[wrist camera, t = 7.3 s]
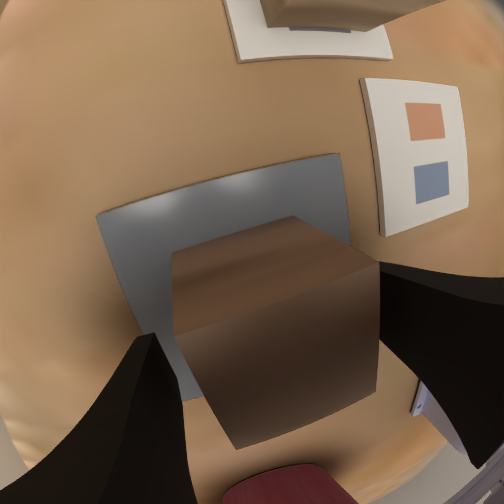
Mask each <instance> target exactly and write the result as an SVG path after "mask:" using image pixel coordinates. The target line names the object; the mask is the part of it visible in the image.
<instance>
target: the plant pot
mask: <svg viewBox="0 0 504 504" xmlns="http://www.w3.org/2000/svg"><path fill="white" fill-rule="evenodd" d="M223 504H359V503H358V502H357V501H356V500H354V499H353V498H352V497H351V496H350V495H349V494H348V493H347V492H346V491H345V490H344V489H343V488H342V487H341V486H340V485H339V484H338V483H337V482H336V481H335V480H334V479H333V478H332V477H331V476H330V475H329V474H328V473H327V472H326V471H325V470H324V469H323V468H322V467H320V466H318V465H314V464H302V465H293V466H288V467H283V468H279V469H275V470H271V471H268V472H265V473H262V474H259V475H256V476H253V477H251V478H249V479H246V480H244V481H242V482H240V483H238V484H236V485H235V486H233V487H232V488H230V489H229V490H228V491H227V492H226V493H225V494H224V496H223Z"/></svg>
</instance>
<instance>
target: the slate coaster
mask: <svg viewBox="0 0 504 504" xmlns="http://www.w3.org/2000/svg"><path fill="white" fill-rule="evenodd" d="M292 215H294V216H296V217H297V218H299V219H301V220H303V221H305V222H307V223H309V224H311V225H313V226H315V227H316V228H318V229H320V230H322V231H324V232H326V233H328V234H329V235H331V236H333V237H335V238H337V239H339V240H340V241H342V242H344V243H346V244H348V245H349V246H351V242H350V230H349V220H348V211H347V202H346V194H345V186H344V178H343V171H342V164H341V158H340V153H331V154H325V155H320V156H314V157H309V158H304V159H298V160H293V161H288V162H283V163H279V164H274V165H269V166H265V167H260V168H256V169H251V170H247V171H243V172H239V173H234V174H230V175H226V176H222V177H218V178H214V179H211V180H207V181H203V182H199V183H196V184H192V185H188V186H185V187H181V188H178V189H174V190H171V191H167V192H164V193H161V194H157V195H154V196H151V197H148V198H144V199H141V200H138V201H135V202H132V203H129V204H126V205H123V206H120V207H117V208H114V209H111V210H108V211H105V212H102V213H99V214H98V215H97V216H96V219H97V222H98V225H99V228H100V231H101V234H102V237H103V240H104V243H105V245H106V248H107V251H108V254H109V256H110V259H111V262H112V264H113V267H114V270H115V272H116V275H117V277H118V280H119V282H120V285H121V287H122V289H123V292H124V294H125V296H126V299H127V301H128V303H129V306H130V308H131V310H132V312H133V315H134V317H135V319H136V321H137V323H138V325H139V328H140V330H141V332H142V334H143V335H146V334H149V333H153V332H155V334H156V336H157V338H158V340H159V342H160V345H161V347H162V349H163V351H164V353H165V355H166V357H167V359H168V361H169V363H170V365H171V367H172V369H173V371H174V373H175V375H176V376H177V379H178V384H179V389H180V394H181V399H182V401H186V400H190V399H194V398H198V397H202V396H204V395H203V393H202V391H201V389H200V387H199V386H198V384H197V382H196V380H195V378H194V376H193V374H192V372H191V370H190V368H189V366H188V364H187V362H186V360H185V358H184V356H183V354H182V352H181V350H180V348H179V346H178V344H177V342H176V340H175V338H174V331H173V307H172V252H176V251H179V250H182V249H185V248H188V247H191V246H194V245H197V244H201V243H204V242H207V241H210V240H213V239H216V238H220V237H223V236H226V235H229V234H232V233H236V232H239V231H242V230H245V229H249V228H252V227H255V226H259V225H262V224H265V223H268V222H272V221H275V220H278V219H282V218H285V217H288V216H292Z"/></svg>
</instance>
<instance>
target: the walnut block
mask: <svg viewBox="0 0 504 504" xmlns="http://www.w3.org/2000/svg"><path fill="white" fill-rule="evenodd" d="M172 307H173V331H174V338H175V340H176V342H177V344H178V346H179V348H180V350H181V352H182V354H183V356H184V358H185V360H186V362H187V364H188V366H189V368H190V370H191V372H192V374H193V376H194V378H195V380H196V382H197V384H198V386H199V387H200V389H201V391H202V393H203V395H204V397H205V398H206V400H207V402H208V404H209V406H210V407H211V409H212V411H213V413H214V414H215V416H216V418H217V419H218V421H219V423H220V425H221V426H222V428H223V430H224V431H225V433H226V434H227V436H228V438H229V439H230V441H231V443H232V444H233V446H234V447H235V449H236V450H238V449H241V448H244V447H248V446H251V445H254V444H257V443H260V442H263V441H266V440H269V439H272V438H275V437H277V436H280V435H283V434H285V433H288V432H291V431H293V430H296V429H298V428H301V427H303V426H306V425H308V424H310V423H313V422H315V421H317V420H320V419H322V418H324V417H326V416H329V415H331V414H333V413H335V412H337V411H339V410H341V409H343V408H345V407H347V406H349V405H351V404H353V403H355V402H357V401H359V400H361V399H363V398H365V397H367V396H369V395H370V394H372V393H374V392H375V391H376V380H377V368H378V353H379V331H380V271H379V262H378V261H376V260H374V259H372V258H371V257H369V256H367V255H365V254H364V253H362V252H360V251H358V250H357V249H355V248H353V247H351V246H349V245H348V244H346V243H344V242H342V241H340V240H339V239H337V238H335V237H333V236H331V235H329V234H328V233H326V232H324V231H322V230H320V229H318V228H316V227H315V226H313V225H311V224H309V223H307V222H305V221H303V220H301V219H299V218H297V217H296V216H294V215H292V216H288V217H285V218H282V219H278V220H275V221H272V222H268V223H265V224H262V225H259V226H255V227H252V228H249V229H245V230H242V231H239V232H236V233H232V234H229V235H226V236H223V237H220V238H216V239H213V240H210V241H207V242H204V243H201V244H197V245H194V246H191V247H188V248H185V249H182V250H179V251H176V252H172Z"/></svg>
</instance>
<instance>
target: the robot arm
mask: <svg viewBox="0 0 504 504" xmlns="http://www.w3.org/2000/svg"><path fill="white" fill-rule="evenodd" d="M379 271H380V331H379V339H380V340H381V341H382V342H383V343H384V344H385V345H386V346H387V347H388V348H389V349H390V350H391V351H392V352H393V353H394V354H395V355H396V356H397V357H398V358H399V359H400V360H401V361H403V362H404V363H405V364H406V365H407V366H408V367H409V368H410V369H411V370H412V371H413V372H414V373H415V374H416V375H417V377H418V378H419V379H420V380H421V381H420V385H419V388H418V392H417V395H416V399H415V402H414V405H413V408H412V411H411V415H412V416H416V415H418V414H419V413H421V412H422V413H423V415H424V416H425V417H426V418H427V419H428V420H429V421H430V422H431V423H432V424H433V425H434V426H435V428H436V429H437V430H438V431H439V432H440V433H441V434H442V435H443V436H444V437H445V438H446V439H447V441H448V442H449V443H450V444H451V445H452V446H453V447H454V448H455V449H456V450H457V451H459V452H460V453H462V454H465V455H468V456H469V459H470V461H471V463H472V464H473V465H474V466H475V467H476V468H477V469H479V468H480V467H481V466H482V465H483V464H484V463H486V462H487V463H486V467H485V468H484V469H483V470H482V471H481V472H480V473H479V474H478V475H477V476H476V477H475V478H474V479H472V480H471V481H470V482H469V483H468V484H467V485H466V486H465V487H463V488H462V489H461V490H460V491H459V492H457V493H456V494H455V495H454V496H453V497H451V498H450V499H449V500H448V501H446V502H445V503H444V504H476V503H477V502H478V501H479V500H480V499H481V498H482V497H483V496H484V495H485V494H486V493H487V492H488V491H489V490H490V491H491V492H492V493H491V494H490V495H489V496H488V498H487V499H486V500H485V501H484V502H483V504H504V277H501V278H489V277H472V276H461V275H454V274H447V273H440V272H435V271H429V270H424V269H419V268H414V267H408V266H403V265H398V264H392V263H386V262H379ZM0 504H198V503H197V500H196V496H195V493H194V489H193V485H192V481H191V477H190V473H189V467H188V461H187V451H186V441H185V429H184V417H183V405H182V399H181V394H180V389H179V384H178V379H177V376H176V375H175V373H174V371H173V369H172V367H171V365H170V363H169V361H168V359H167V357H166V355H165V353H164V351H163V349H162V347H161V345H160V342H159V340H158V338H157V336H156V334H155V332H153V333H149V334H146V335H142V336H138V337H137V338H136V339H135V340H134V342H133V343H132V345H131V346H130V348H129V350H128V351H127V353H126V354H125V356H124V358H123V359H122V361H121V362H120V364H119V366H118V367H117V369H116V370H115V372H114V374H113V375H112V377H111V378H110V380H109V381H108V383H107V384H106V386H105V387H104V389H103V390H102V392H101V393H100V395H99V396H98V397H97V399H96V400H95V402H94V403H93V405H92V406H91V407H90V409H89V410H88V411H87V413H86V414H85V415H84V416H83V418H82V419H81V420H80V421H79V422H78V424H77V425H76V426H75V427H74V428H73V430H72V431H71V432H70V433H69V434H68V435H67V436H66V437H65V438H64V439H63V440H62V441H61V442H60V443H59V444H58V445H57V446H56V447H55V448H54V449H53V450H52V451H51V452H50V453H49V454H48V455H47V456H46V457H45V458H44V459H43V460H42V461H40V462H39V463H38V464H37V465H36V466H34V467H33V468H32V469H31V470H29V471H28V472H27V473H26V474H24V475H23V476H22V477H20V478H19V479H17V480H16V481H14V482H13V483H11V484H10V485H8V486H6V487H5V488H3V489H2V490H0Z"/></svg>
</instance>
